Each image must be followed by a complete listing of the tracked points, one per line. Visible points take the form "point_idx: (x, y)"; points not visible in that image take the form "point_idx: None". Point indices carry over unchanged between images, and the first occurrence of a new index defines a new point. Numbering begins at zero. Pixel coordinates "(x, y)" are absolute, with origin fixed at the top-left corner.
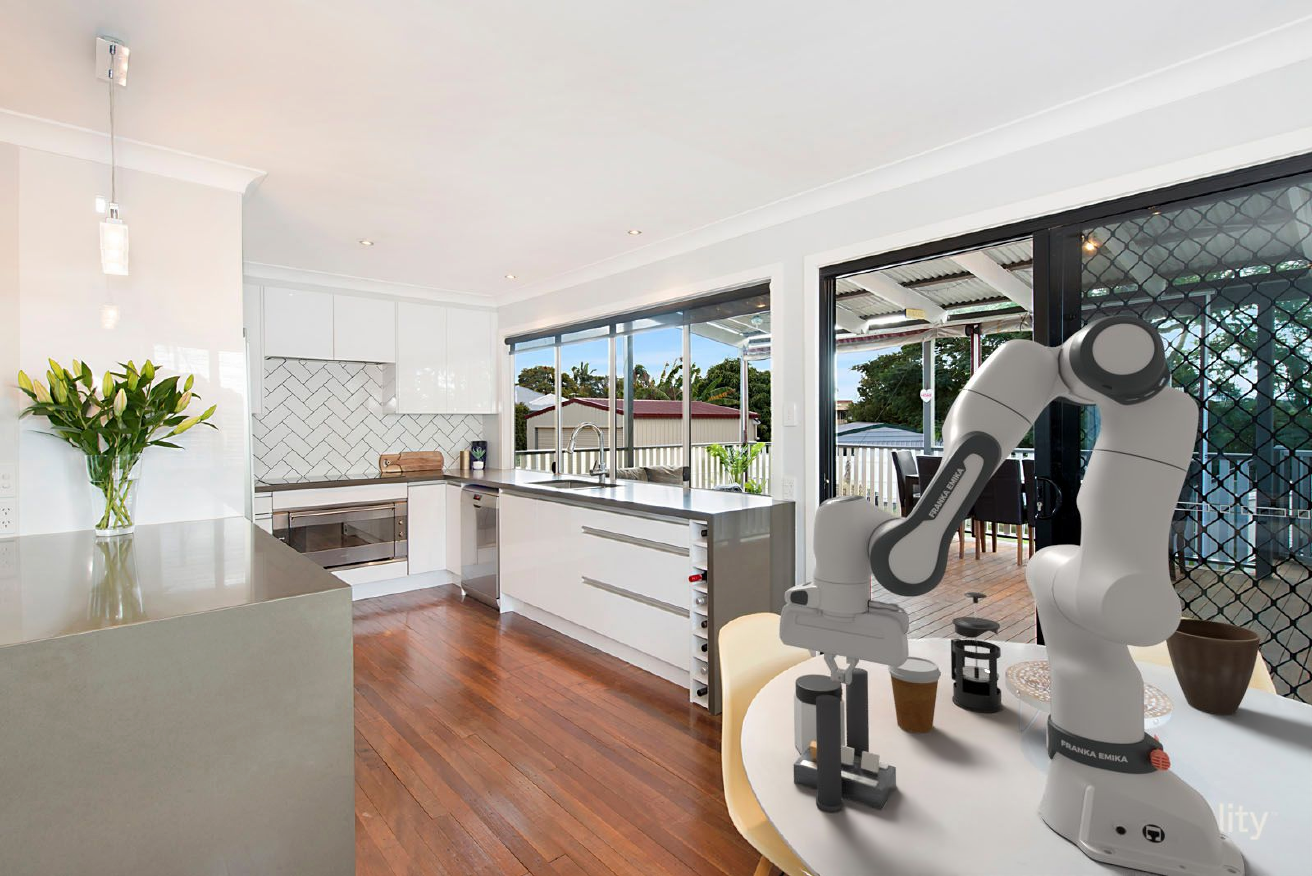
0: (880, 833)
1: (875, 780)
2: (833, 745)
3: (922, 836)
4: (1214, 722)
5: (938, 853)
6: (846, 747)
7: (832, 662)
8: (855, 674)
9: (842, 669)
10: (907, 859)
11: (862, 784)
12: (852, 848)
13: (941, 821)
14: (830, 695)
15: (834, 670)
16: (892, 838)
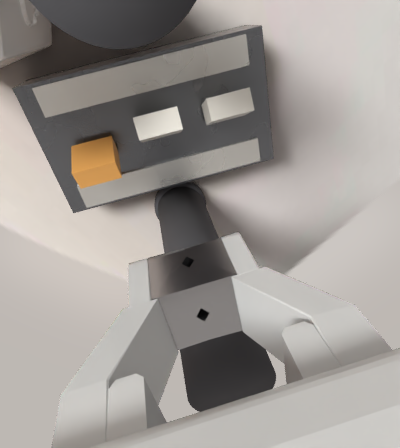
0: (280, 204)
1: (247, 133)
2: None
3: (336, 161)
4: None
5: (364, 182)
6: (165, 132)
7: (147, 381)
8: (148, 25)
9: (194, 293)
10: (329, 225)
11: (232, 168)
12: (262, 259)
13: (357, 92)
14: (218, 363)
15: (176, 353)
16: (299, 201)
